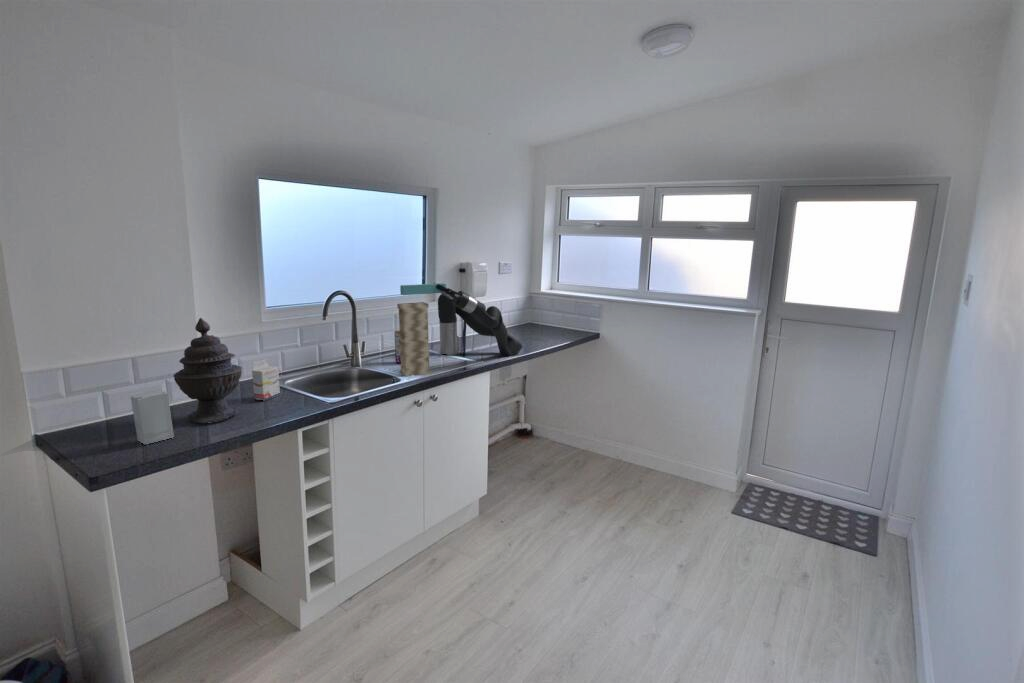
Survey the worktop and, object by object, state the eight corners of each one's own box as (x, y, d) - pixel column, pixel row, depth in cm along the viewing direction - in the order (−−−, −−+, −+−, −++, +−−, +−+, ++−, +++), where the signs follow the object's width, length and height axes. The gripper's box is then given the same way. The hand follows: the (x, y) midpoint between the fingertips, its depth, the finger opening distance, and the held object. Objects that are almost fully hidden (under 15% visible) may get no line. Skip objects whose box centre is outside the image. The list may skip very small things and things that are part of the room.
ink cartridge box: (264, 402, 202) (261, 363, 199) (254, 400, 203) (250, 362, 201) (281, 396, 209) (278, 359, 207) (271, 394, 211) (267, 358, 208)
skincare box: (167, 434, 167) (161, 388, 164) (175, 439, 164) (169, 391, 161) (136, 442, 161) (129, 394, 158) (143, 447, 157) (136, 398, 154)
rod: (442, 292, 248) (442, 283, 247) (446, 292, 244) (445, 283, 243) (400, 294, 238) (400, 285, 237) (403, 295, 234) (403, 285, 234)
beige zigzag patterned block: (425, 370, 251) (422, 302, 245) (430, 373, 245) (428, 303, 239) (400, 373, 245) (397, 303, 240) (405, 376, 239) (402, 305, 234)
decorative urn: (237, 423, 175) (220, 317, 170) (170, 431, 172) (151, 323, 167) (256, 408, 195) (242, 312, 190) (197, 414, 192) (180, 317, 187)
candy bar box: (395, 363, 266) (393, 330, 263) (398, 361, 270) (397, 329, 268) (417, 363, 264) (416, 331, 262) (420, 361, 269) (418, 329, 266)
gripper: (468, 310, 245) (437, 294, 237) (455, 307, 258) (425, 291, 249) (475, 296, 246) (444, 278, 237) (462, 293, 258) (432, 277, 249)
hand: (435, 285), depth 243 cm, fingers closed on rod, 4 cm apart
